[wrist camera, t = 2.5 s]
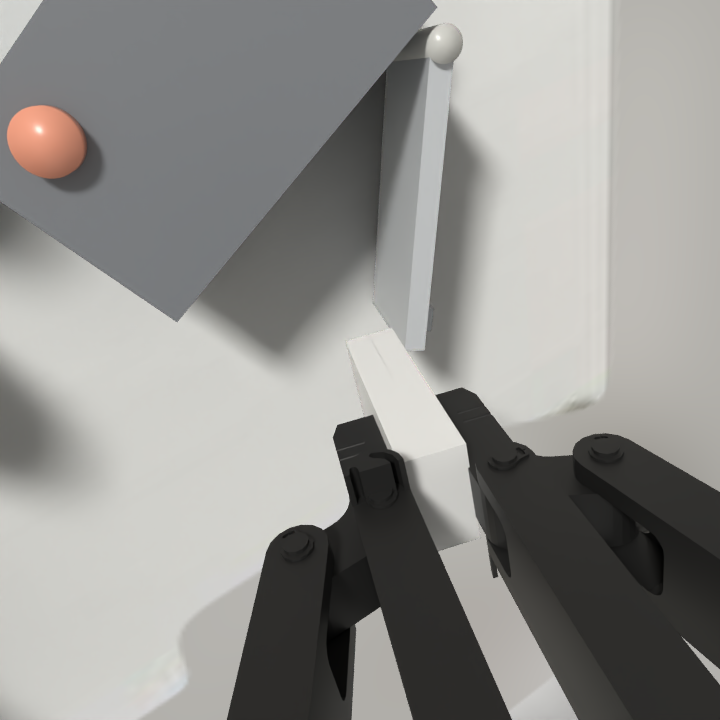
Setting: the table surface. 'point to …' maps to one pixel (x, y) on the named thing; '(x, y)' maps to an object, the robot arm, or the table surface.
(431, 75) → the side door
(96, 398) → the table surface
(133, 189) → the camera body
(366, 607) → the robot arm
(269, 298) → the table surface
